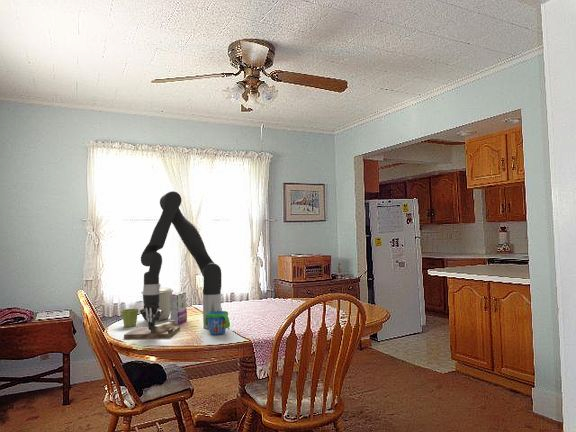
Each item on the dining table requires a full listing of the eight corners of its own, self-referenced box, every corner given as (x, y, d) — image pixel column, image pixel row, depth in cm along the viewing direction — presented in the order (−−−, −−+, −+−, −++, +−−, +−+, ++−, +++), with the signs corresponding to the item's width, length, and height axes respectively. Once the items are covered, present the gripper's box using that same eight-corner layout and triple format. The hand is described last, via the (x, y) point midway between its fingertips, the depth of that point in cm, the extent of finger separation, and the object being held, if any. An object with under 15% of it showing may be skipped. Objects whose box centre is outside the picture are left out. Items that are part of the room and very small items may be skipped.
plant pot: (120, 325, 236) (120, 309, 237) (138, 323, 240) (138, 308, 240) (120, 328, 228) (120, 311, 228) (139, 326, 231) (139, 310, 231)
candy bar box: (179, 320, 245) (178, 291, 245) (187, 321, 244) (186, 291, 244) (169, 324, 234) (169, 294, 234) (178, 324, 233) (177, 294, 233)
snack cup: (199, 333, 209) (198, 312, 210) (217, 329, 217) (217, 309, 217) (217, 338, 198) (217, 315, 199) (236, 334, 205) (235, 312, 206)
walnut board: (180, 330, 217) (179, 323, 217) (170, 337, 201) (169, 330, 202) (137, 331, 218) (137, 324, 218) (123, 338, 202) (123, 331, 202)
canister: (148, 316, 261) (147, 282, 262) (177, 316, 260) (177, 281, 261) (136, 322, 243) (136, 285, 244) (168, 322, 242) (167, 284, 243)
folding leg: (171, 327, 216) (171, 320, 217) (176, 327, 215) (176, 320, 215) (150, 333, 204) (150, 325, 204) (155, 333, 202) (155, 325, 202)
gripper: (167, 292, 208) (167, 329, 207) (146, 291, 214) (146, 327, 213) (156, 294, 201) (156, 332, 200) (135, 293, 207) (135, 330, 206)
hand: (151, 329), depth 207 cm, fingers closed
